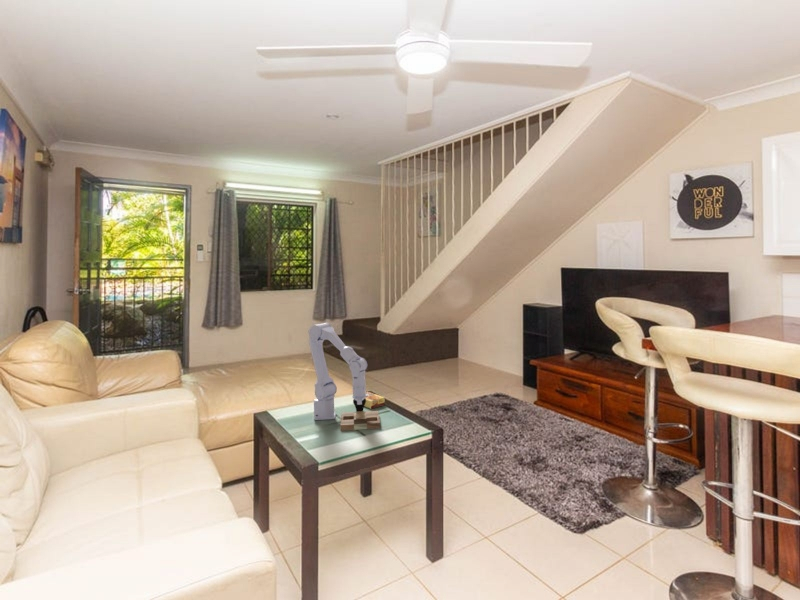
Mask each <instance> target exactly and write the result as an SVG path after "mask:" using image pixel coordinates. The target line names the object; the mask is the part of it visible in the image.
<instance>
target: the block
mask: <svg viewBox="0 0 800 600" xmlns="http://www.w3.org/2000/svg"><path fill="white" fill-rule="evenodd" d="M354 412H355V415H356V419H365V410H363V411H358V412H356V411H354Z"/></svg>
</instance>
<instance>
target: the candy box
mask: <svg viewBox="0 0 800 600" xmlns="http://www.w3.org/2000/svg"><path fill="white" fill-rule="evenodd" d="M366 394H368V397H366V398H365V399H366V403H365V405H364V407H366V408H367V409H374V408H379V407H381V406H385V405H386V404H385V401H386V400H385V398H386V397H385V396H381V395H379V394H375V393H373V392H370V391H368V390H366Z"/></svg>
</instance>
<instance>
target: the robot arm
mask: <svg viewBox="0 0 800 600" xmlns="http://www.w3.org/2000/svg"><path fill="white" fill-rule="evenodd" d="M308 335H309V339H308V343H309V348H310V353H311V357H312V361H313V365H314V371H315V374H316V381H315V383H314V395H315V397H316V398H314V399H313V415H314V416H313V419H314V421H323V420H335V419H336V412H335V396H336V394H337V392H338V388H337V385H336V383H335V382H334V381H335V380H334V379H333V378H332V377H331V376H330V375H329V370H328V366H327V362H326V357H325V354H324V353H325V352H324V348H323V343H324V341H325V340H326V341H329V342H330V343H331V344H332V345H333V346H334V347H335V348H336V349H337V350H339V352H340V357H341V358H342V359H343V360H344V361H345V362H346V363H347V364H348V367H349V371H350V372H351V377H352V399H353V400H352V403H353V405H354V407H355V410H356V411H355V412H358V411H364V407H365V406H364V405H365V403H366V399H365V398H366V397H368V394H366V392H367V390H366V370H367V369H368V362H367V360H366V358H364V357H361V356H360V355H358V354H357V353H356V351H355V350H354V348H353V347H351V346H349V345H346V344H345V343H344V341H342V339H341V338H340V337H339V335H338V333H336V332H335V328H334V326H332V324H331V323H329V322H324V323H323V322H322V323H318V324H312V325H311V326H310V328H309V329H308Z"/></svg>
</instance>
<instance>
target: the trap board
mask: <svg viewBox="0 0 800 600" xmlns="http://www.w3.org/2000/svg"><path fill="white" fill-rule="evenodd" d="M364 411H365V410H364ZM355 412H356V411H349V412H348V411H347V412H341V414H340V431H357V430H373V429H375V430H376V429H381V420H380V414H379V411H378V410H370V411H369V410H368V411H365V419H356V415H355Z"/></svg>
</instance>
